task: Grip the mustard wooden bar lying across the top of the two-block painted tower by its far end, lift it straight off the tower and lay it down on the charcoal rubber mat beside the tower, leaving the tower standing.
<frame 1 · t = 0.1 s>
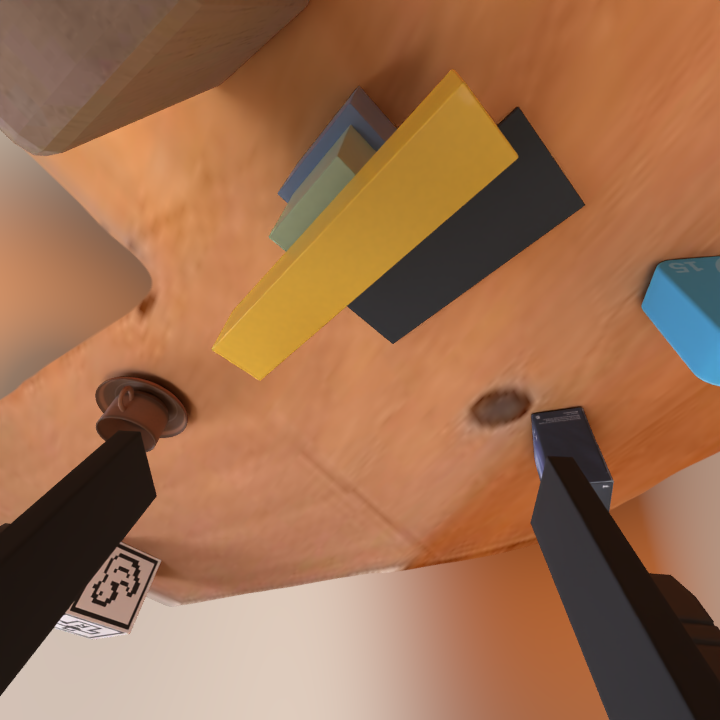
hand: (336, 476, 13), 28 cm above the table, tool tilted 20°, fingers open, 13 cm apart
data package: (711, 275, 37), on the table
cup and saucer: (149, 399, 55), on the table
bar: (342, 238, 22), point 14 cm above the table, touching tower
tower: (360, 164, 32), on the table, touching bar
small box: (554, 433, 53), on the table
mat: (442, 249, 37), on the table
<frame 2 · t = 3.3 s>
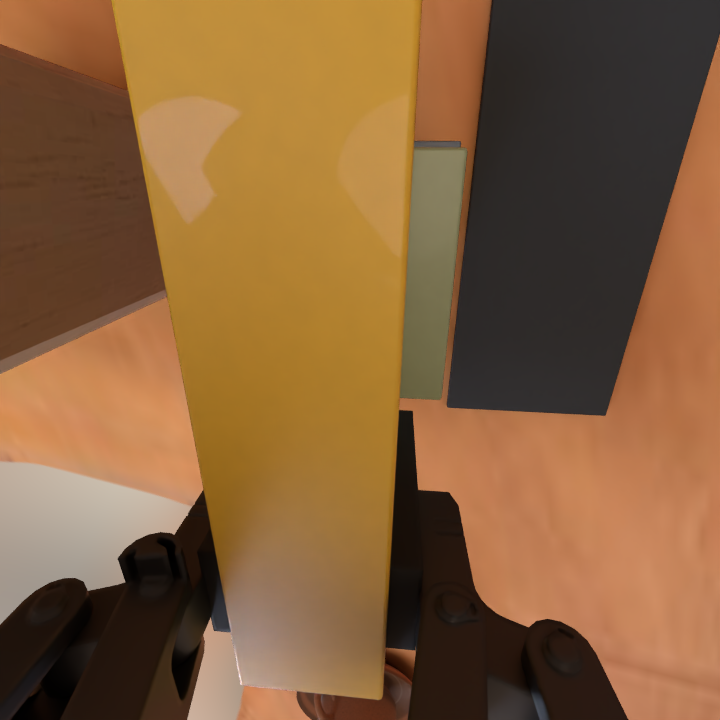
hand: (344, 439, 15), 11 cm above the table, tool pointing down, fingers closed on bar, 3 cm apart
cup and saucer: (360, 678, 40), on the table
bar: (327, 286, 10), point 14 cm above the table, touching gripper
tower: (367, 230, 22), on the table
block: (110, 189, 23), on the table
mat: (558, 234, 22), on the table
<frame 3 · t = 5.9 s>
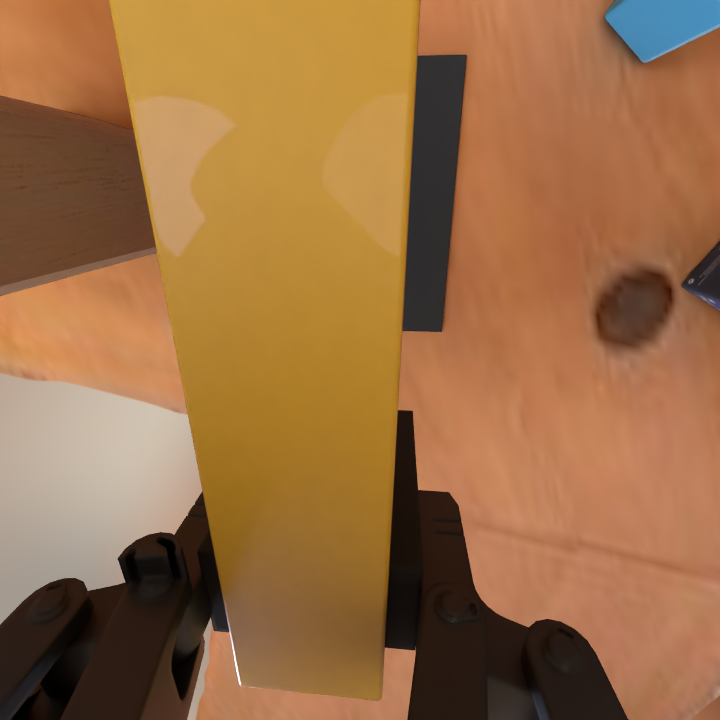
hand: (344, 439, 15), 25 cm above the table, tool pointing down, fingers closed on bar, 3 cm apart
bar: (327, 287, 10), point 28 cm above the table, touching gripper
block: (114, 185, 36), on the table
mat: (394, 210, 35), on the table
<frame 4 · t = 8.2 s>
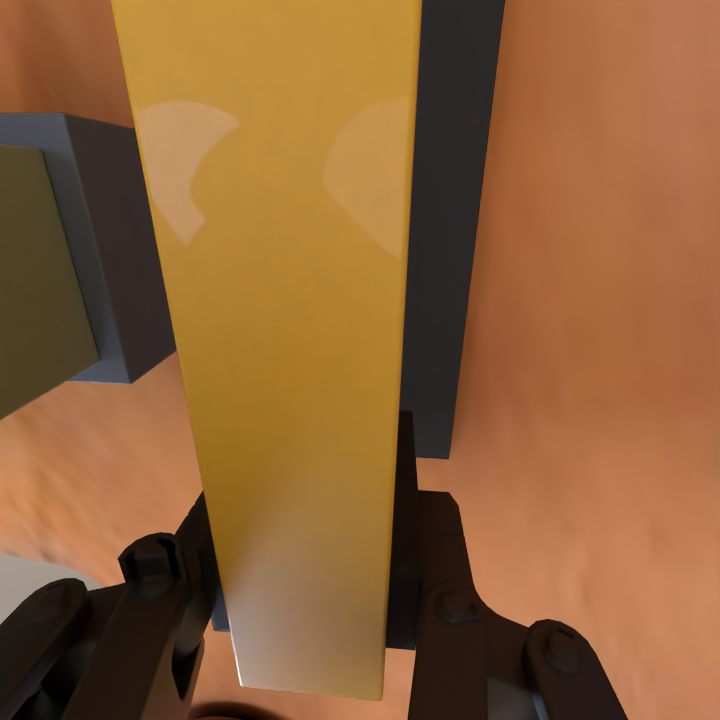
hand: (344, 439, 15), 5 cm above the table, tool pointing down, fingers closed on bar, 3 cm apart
bar: (327, 288, 10), point 8 cm above the table, touching gripper
tower: (127, 236, 18), on the table
mat: (356, 241, 17), on the table
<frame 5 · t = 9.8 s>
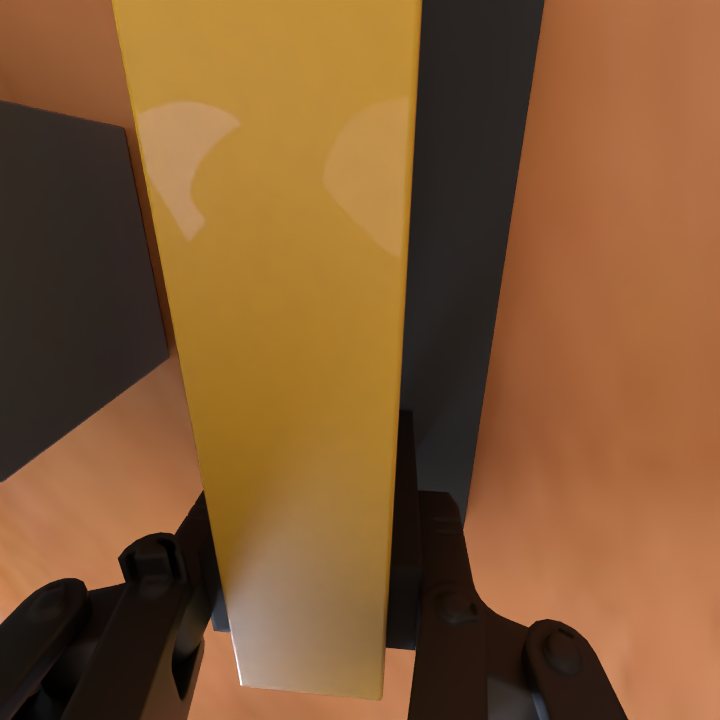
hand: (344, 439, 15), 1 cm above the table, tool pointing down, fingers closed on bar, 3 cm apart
bar: (328, 288, 10), point 4 cm above the table, touching gripper
tower: (45, 253, 14), on the table
mat: (345, 260, 13), on the table
when the fingers open (2 cm above the table, at t = 13.5 s): bar drops 5 cm, resting on mat.
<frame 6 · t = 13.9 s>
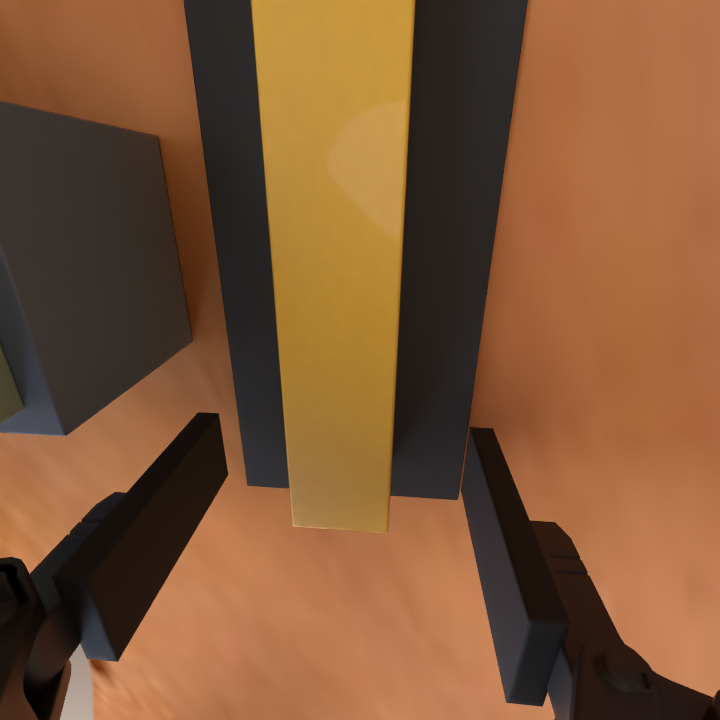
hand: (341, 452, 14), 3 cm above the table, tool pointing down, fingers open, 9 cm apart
bar: (351, 258, 14), resting on mat
tower: (83, 246, 15), on the table
mat: (351, 253, 15), on the table
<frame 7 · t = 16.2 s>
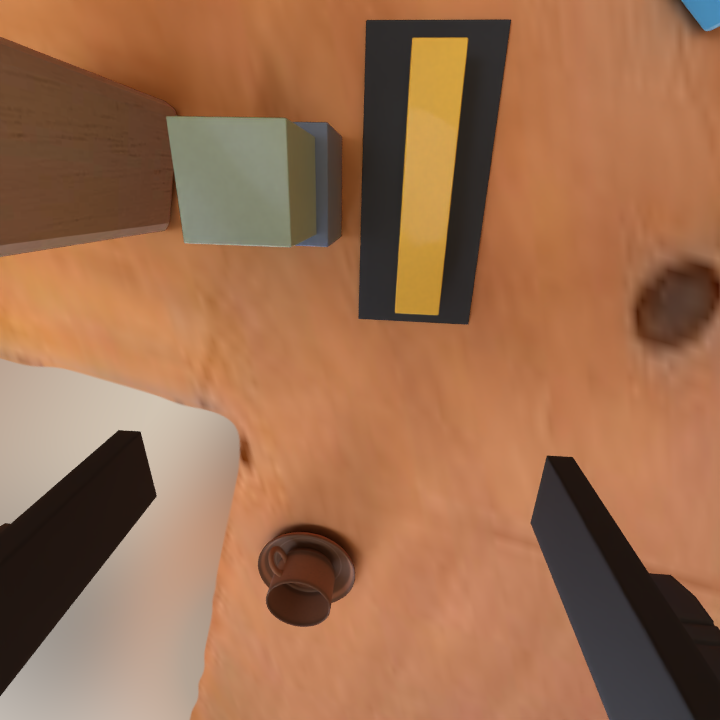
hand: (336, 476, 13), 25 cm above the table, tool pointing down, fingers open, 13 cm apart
cup and saucer: (309, 557, 50), on the table
bar: (423, 193, 32), resting on mat
tower: (296, 187, 33), on the table
block: (122, 157, 33), on the table
mat: (423, 191, 32), on the table
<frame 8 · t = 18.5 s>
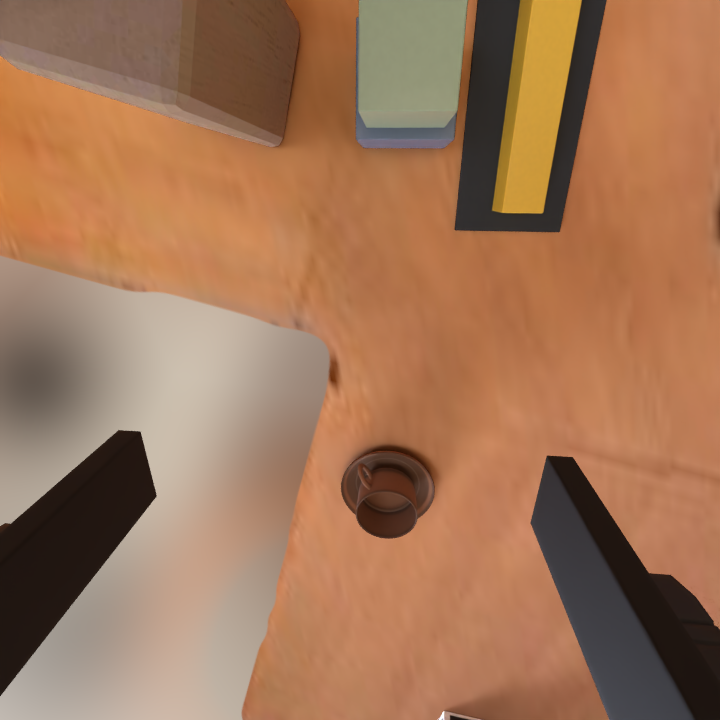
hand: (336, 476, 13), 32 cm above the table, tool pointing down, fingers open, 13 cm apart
cup and saucer: (387, 479, 53), on the table
bar: (527, 100, 34), resting on mat
tower: (405, 100, 35), on the table
block: (241, 75, 36), on the table
mat: (525, 99, 35), on the table
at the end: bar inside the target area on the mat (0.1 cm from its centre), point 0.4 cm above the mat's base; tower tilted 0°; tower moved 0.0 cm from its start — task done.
